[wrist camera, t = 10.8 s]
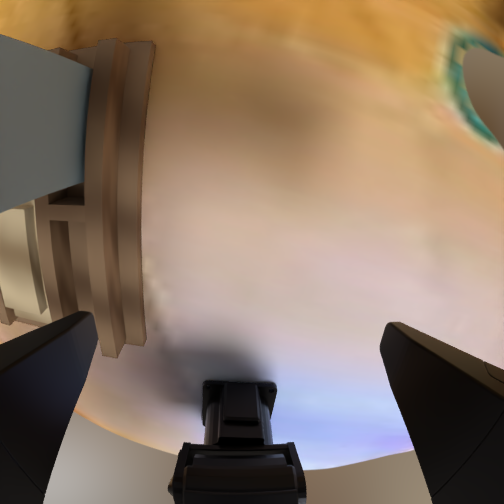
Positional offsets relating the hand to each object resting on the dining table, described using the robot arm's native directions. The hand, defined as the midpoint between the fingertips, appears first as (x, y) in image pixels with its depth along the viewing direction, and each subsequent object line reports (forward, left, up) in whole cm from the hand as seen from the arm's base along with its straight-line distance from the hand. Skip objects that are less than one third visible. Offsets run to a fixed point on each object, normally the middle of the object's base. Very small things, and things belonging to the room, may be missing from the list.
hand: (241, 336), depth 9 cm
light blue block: (+6, +11, -12) cm, 17 cm away
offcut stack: (-4, +16, -12) cm, 20 cm away
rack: (+1, +14, -13) cm, 19 cm away
